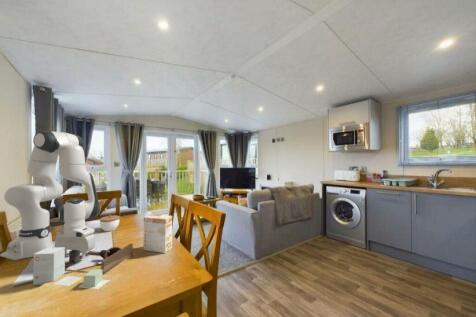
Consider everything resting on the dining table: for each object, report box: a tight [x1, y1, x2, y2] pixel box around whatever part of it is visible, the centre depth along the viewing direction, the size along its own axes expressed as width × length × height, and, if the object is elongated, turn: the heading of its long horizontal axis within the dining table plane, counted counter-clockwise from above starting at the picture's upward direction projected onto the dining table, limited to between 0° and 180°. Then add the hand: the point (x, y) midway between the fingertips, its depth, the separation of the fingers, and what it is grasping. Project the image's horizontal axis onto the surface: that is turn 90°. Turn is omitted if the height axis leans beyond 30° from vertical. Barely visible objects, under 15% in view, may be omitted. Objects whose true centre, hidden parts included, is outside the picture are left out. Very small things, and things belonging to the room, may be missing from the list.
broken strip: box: [52, 275, 110, 290], centre depth 83 cm, size 21×6×1 cm, turn 82°
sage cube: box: [83, 268, 103, 287], centre depth 82 cm, size 4×4×4 cm
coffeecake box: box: [142, 213, 173, 254], centre depth 117 cm, size 15×7×20 cm, turn 74°
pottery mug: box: [98, 246, 122, 260], centre depth 102 cm, size 12×10×8 cm
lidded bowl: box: [99, 214, 121, 232], centre depth 149 cm, size 13×13×11 cm
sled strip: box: [65, 243, 133, 276], centre depth 100 cm, size 27×19×7 cm
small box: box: [32, 247, 66, 286], centre depth 86 cm, size 8×6×13 cm
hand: (74, 257), depth 102 cm, fingers open, 8 cm apart
